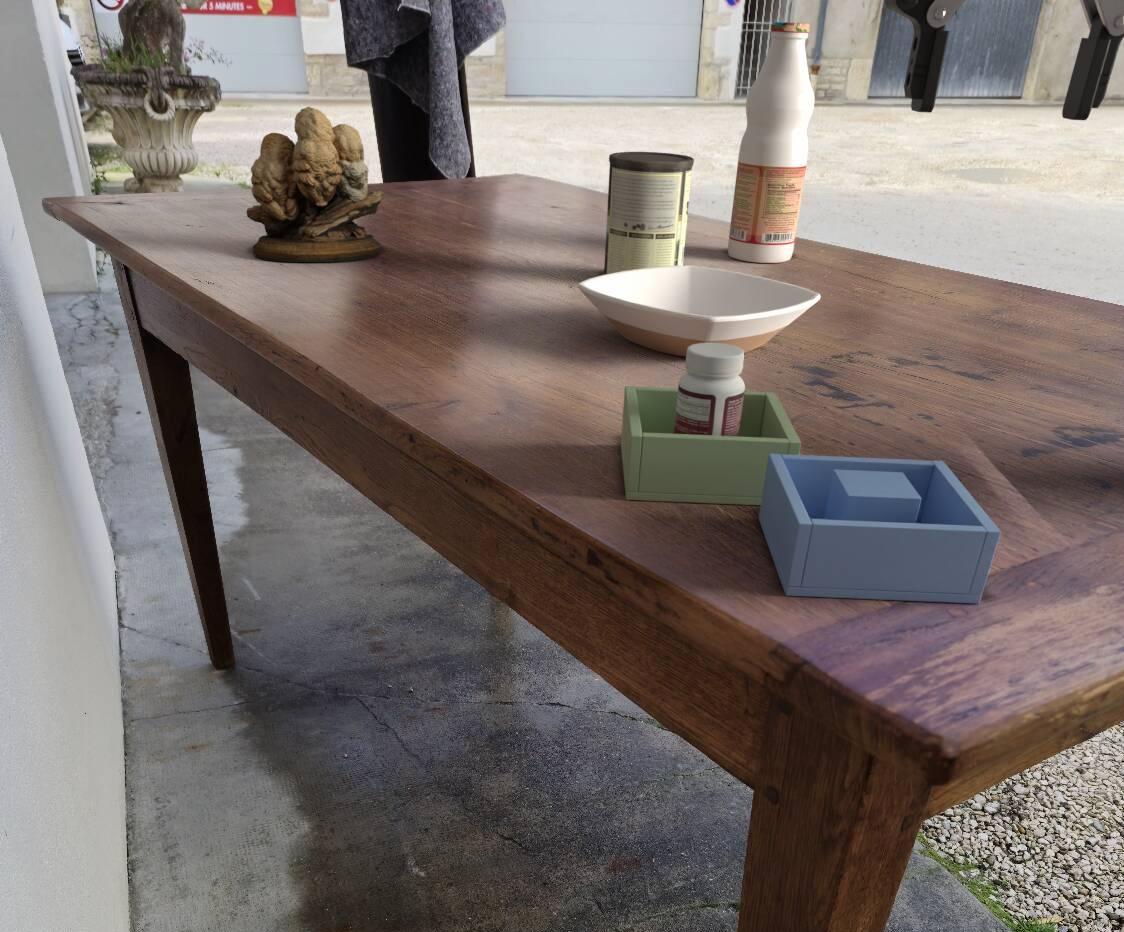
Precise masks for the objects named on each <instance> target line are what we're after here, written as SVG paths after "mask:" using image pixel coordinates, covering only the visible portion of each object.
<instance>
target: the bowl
mask: <svg viewBox="0 0 1124 932" xmlns="http://www.w3.org/2000/svg"><path fill="white" fill-rule="evenodd" d="M577 288H578V289H579V291H580V292H581V293H582V294H583V295H584V296H585V297H586V298H587V299H588V300H589V302H590V303H591V304H592V305H593V306H594V307H595V308H596V309H597V310H598V311H599V312H600V313H601V314H602V316H604V317H605V318H606V319H607V321H608V322H610V324H611V325H612V326H613V327H614V328H615V329H616V331H618V333H619V334H621V336H622V337H623V338H624V339H626V340H627V341H630V342H631V343H633V344H636V345H638V346H641V347H643V348H646V349H649V350H653V351H655V352H656V351H657V352H659V353H662V354H668V355H672V356H677V357H682V358H686V355H687V348H688V347H689V346H691V345H693V344H698V343H723V344H729V345H734V346H736V347H739V348H741V349H742V350H743V351H744V354H746V353H749V352H751V351H753V350H755V349H757V348H760V347H762V346H764V345H765V344H767V342H769V341H770V340H772V338H773V337H775V336H776V335H777V334H779V333H781V331H782V330H784V329H785V328H786V327H788V326H789V325H790V324H792V323H793V322H794V321H796V320H797V319H798V318H799V317H800V316H801V315H803V314H804V313H805V312H807V311H808V310H809V309H810V308H812V307H813V306H814V305H815V304H816V303H817V302H819V301H820V300H821V294H820V293H818V292H817V291H813V290H811V289H808V288H805V287H803V286H799V285H795V284H792V283H788V282H785V281H779V280H776V279H772V278H767V277H763V276H758V275H753V274H748V273H743V272H739V271H733V270H728V269H722V268H716V267H707V266H701V265H690V264H685V265H684V264H683V265H681V266H662V267H652V268H643V269H635V270H628V271H621V272H616V273H611V274H606V275H604V274H602V275H598V276H594V277H590V278H587V279H585V280H583V281H581V282H579V283H578V284H577Z"/></svg>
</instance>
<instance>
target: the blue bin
mask: <svg viewBox="0 0 1124 932" xmlns="http://www.w3.org/2000/svg"><path fill="white" fill-rule="evenodd" d="M834 469H835V470H858V471H882V472H903V473H904V475H905V476H906V478H907V479H908V480H909V482H910V483H911V485H912V486H913V488H914V489H915V490H916V492H917V493H918V495H919V496H920V497H921V503H920V507H919V511H918V515H917V519H916V523H896V522H872V521H848V520H825V519H824V517H825V511H826V506H827V501H828V496H829V491H830V486H831V481H832V476H833V470H834ZM759 506H760V508H759V512H758V513H759V514H758V521H759V524H760V526H761V530H762V532H763V535H764V538H765V541H766V543H767V546H768V549H769V552H770V555H771V557H772V561H773V563H774V566H775V569H776V572H777V575H778V577H779V581H780V583H781V587H782V589H783V591H784V594H785V596H786V597H805V598H806V597H808V598H829V599H831V598H832V599H836V598H837V599H858V600H881V601H884V600H885V601H904V602H926V603H927V602H928V603H929V602H930V603H954V604H975V605H976V604H977V605H979V604H980V602H981V601H982V600H981V599H982V596H983V593H984V590H985V587H986V583H987V580H988V577H989V573H990V570H991V567H992V563H993V560H994V556H995V553H996V549H997V547H998V543H999V540H1000V537H1001V533H1002V531H1001V530H1000V529H999V528H998V526H997V525H996V524H995V523H994V522H993V520H992V519H991V518H990V517H989V515H988V514H987V513H986V511H984V509H983V508H982V507H981V506H980V504H979V503H978V502H977V500H976V499H975V498H974V497H973V496H972V494H971V493H970V492H969V491H968V490H967V489H966V487H965V486H964V485H963V484H962V482H961V480H959V478H958V477H957V476H956V475H955V474H954V473H953V471H952V470H951V469H950V468H949V466H948V465H947V463H945V461H943V460H930V459H929V460H928V459H927V460H925V459H905V458H882V457H881V458H879V457H859V456H858V457H856V456H855V457H854V456H833V455H831V456H830V455H812V454H811V455H809V454H808V455H807V454H799V455H789V454H781V455H780V454H769V455H768V462H767V468H766V474H765V481H764V487H763V494H762V500H761V505H759Z"/></svg>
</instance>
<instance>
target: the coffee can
mask: <svg viewBox="0 0 1124 932" xmlns="http://www.w3.org/2000/svg"><path fill="white" fill-rule="evenodd" d="M608 162H609V169H608V171H609V174H608V189H607V190H608V191H607V211H606V212H607V213H606V230H605V247H604V248H605V250H604V265H603V267H604V269H603V275H606V274H611V273H616V272H621V271H628V270H635V269H643V268H652V267H662V266H681V265H684V259H685V257H684V256H685V246H686V235H687V225H688V214H689V204H690V193H691V182H692V170H693V166H694V163H695V159H694V158H693V157H692V156H688V155H686V154H685V155H684V154H679V153H671V152H655V151H619V152H614V153H611V154H609V156H608Z"/></svg>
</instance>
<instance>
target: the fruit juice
mask: <svg viewBox="0 0 1124 932" xmlns="http://www.w3.org/2000/svg"><path fill="white" fill-rule="evenodd" d="M809 34H810V23H807V22H786V21H773V22H772V23H771V27H770V38H771V44H770V46H769V49H768V51H767V54H766V56H765V58H764V61H763V64H762V66H761V68H760V71H759V72H758V75H757V76H756V79H755V80H754V81H753V83H752V85H751V87H750V88H749V90H748V92H747V95H746V100H745V101H746V102H745V114H746V115H745V117H746V128H745V131H744V132H743V135H742V137H741V140H740V145H739V150H738V157H737V168H736V175H735V183H734V191H733V199H732V200H733V201H732V210H731V218H730V225H729V226H730V227H729V233H728V234H729V235H728V243H727V254H728V256H729V257H730V258H732V259H735V260H738V261H743V262H749V263H758V264H780V263H785V262H789V261H791V259H792V257H793V254H794V250H795V244H796V235H797V229H798V223H799V217H800V212H801V211H800V210H801V204H802V197H803V190H804V185H805V177H806V171H807V165H808V158H809V148H810V147H809V143H810V142H809V136H808V127H809V123H810V121H811V119H812V116H813V113H814V110H815V103H816V102H815V101H816V97H815V96H816V95H815V91H814V89H813V86H812V83H811V79H810V74H809V68H808V60H807V52H806V41H807V39H808V38H809Z"/></svg>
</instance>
